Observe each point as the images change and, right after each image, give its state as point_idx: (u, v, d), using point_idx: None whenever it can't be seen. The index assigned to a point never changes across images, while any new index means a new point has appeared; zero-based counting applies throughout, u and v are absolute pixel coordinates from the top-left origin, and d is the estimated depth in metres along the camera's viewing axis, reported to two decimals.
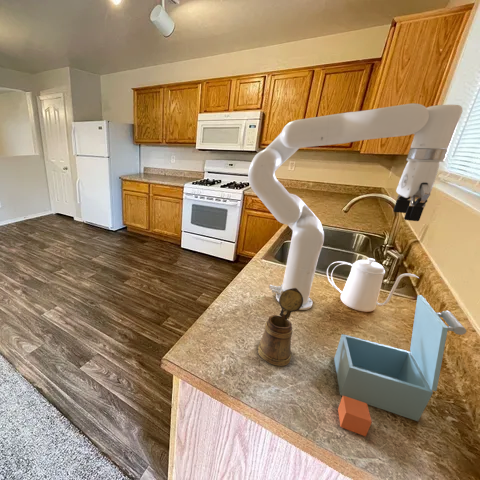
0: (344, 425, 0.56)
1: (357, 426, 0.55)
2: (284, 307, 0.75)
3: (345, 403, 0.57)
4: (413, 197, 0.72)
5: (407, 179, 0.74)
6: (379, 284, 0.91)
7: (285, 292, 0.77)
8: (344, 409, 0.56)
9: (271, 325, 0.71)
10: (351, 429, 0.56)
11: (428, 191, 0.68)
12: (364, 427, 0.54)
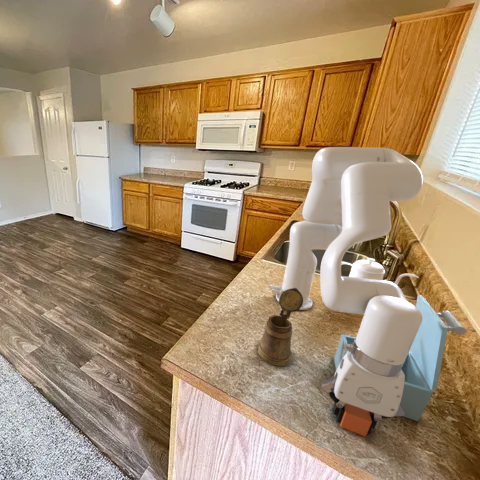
0: (344, 425, 0.56)
1: (357, 426, 0.55)
2: (284, 307, 0.75)
3: None
4: None
5: (380, 396, 0.50)
6: None
7: (285, 292, 0.77)
8: (344, 409, 0.56)
9: (271, 325, 0.71)
10: (351, 429, 0.56)
11: (402, 408, 0.52)
12: (364, 427, 0.54)
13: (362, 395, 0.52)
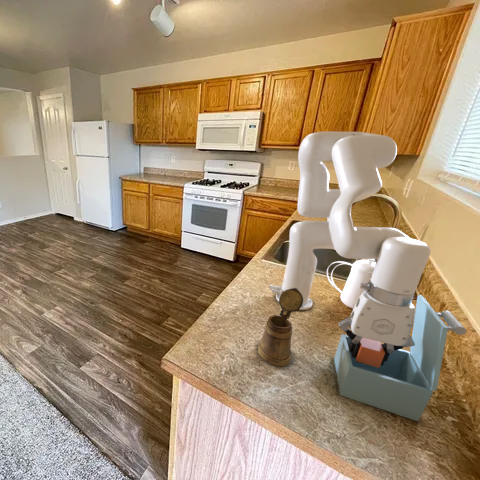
0: (360, 359, 0.63)
1: (372, 358, 0.62)
2: (284, 307, 0.75)
3: (360, 340, 0.64)
4: None
5: (393, 326, 0.57)
6: None
7: (285, 292, 0.77)
8: (360, 345, 0.63)
9: (271, 325, 0.71)
10: (366, 362, 0.62)
11: None
12: (378, 359, 0.61)
13: (376, 327, 0.59)
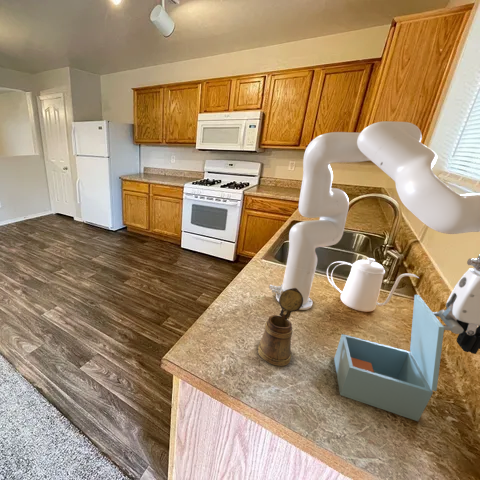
0: None
1: None
2: (284, 307, 0.75)
3: (352, 363, 0.66)
4: None
5: None
6: (379, 284, 0.91)
7: (285, 292, 0.77)
8: None
9: (271, 325, 0.71)
10: None
11: None
12: None
13: None
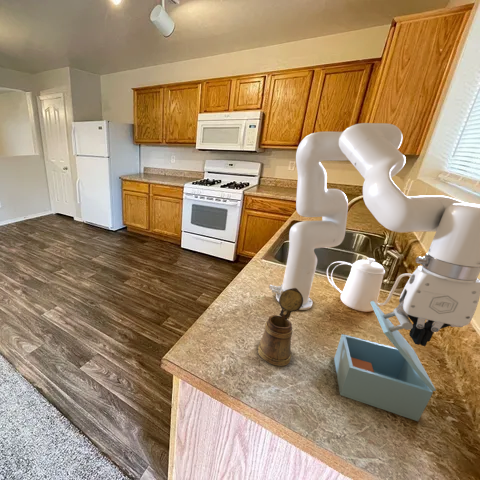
0: None
1: None
2: (284, 307, 0.75)
3: (352, 363, 0.66)
4: (442, 323, 0.54)
5: (455, 304, 0.51)
6: (379, 284, 0.91)
7: (285, 292, 0.77)
8: None
9: (271, 325, 0.71)
10: None
11: None
12: None
13: (435, 306, 0.53)
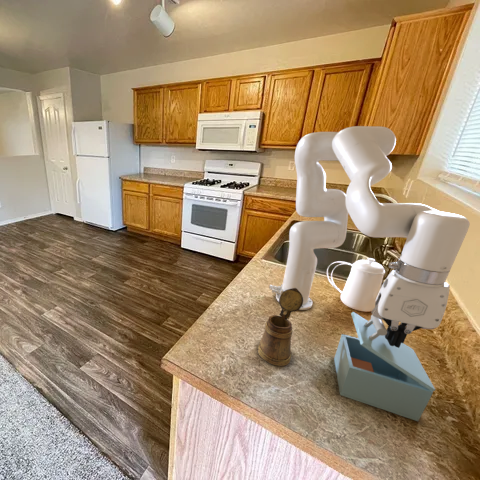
0: None
1: None
2: (284, 307, 0.75)
3: (352, 363, 0.66)
4: (415, 325, 0.57)
5: (425, 307, 0.54)
6: (379, 284, 0.91)
7: (285, 292, 0.77)
8: None
9: (271, 325, 0.71)
10: None
11: None
12: None
13: (407, 309, 0.55)
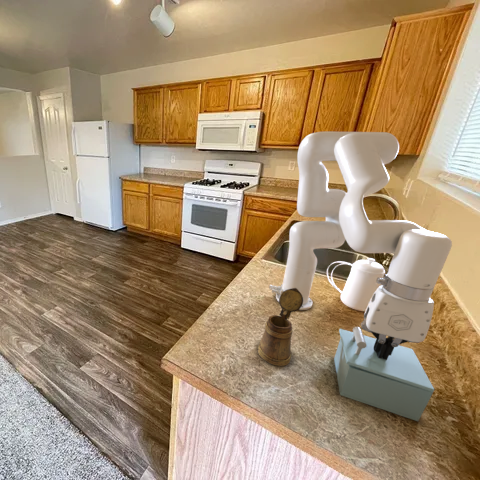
0: None
1: None
2: (284, 307, 0.75)
3: None
4: (401, 339, 0.59)
5: (411, 322, 0.55)
6: (379, 284, 0.91)
7: (285, 292, 0.77)
8: None
9: (271, 325, 0.71)
10: None
11: None
12: None
13: (393, 323, 0.57)
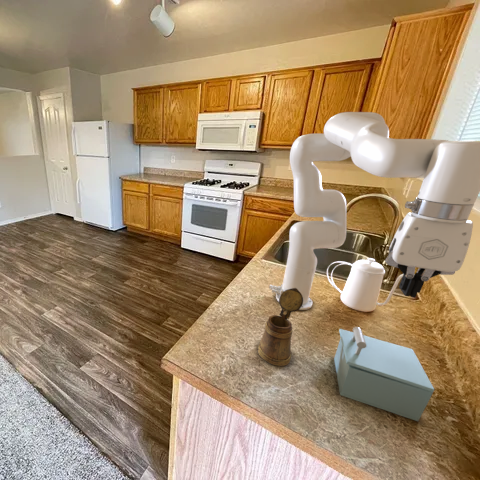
0: None
1: None
2: (284, 307, 0.75)
3: None
4: (433, 271, 0.52)
5: (445, 247, 0.49)
6: (379, 284, 0.91)
7: (285, 292, 0.77)
8: None
9: (271, 325, 0.71)
10: None
11: None
12: None
13: (425, 251, 0.51)
